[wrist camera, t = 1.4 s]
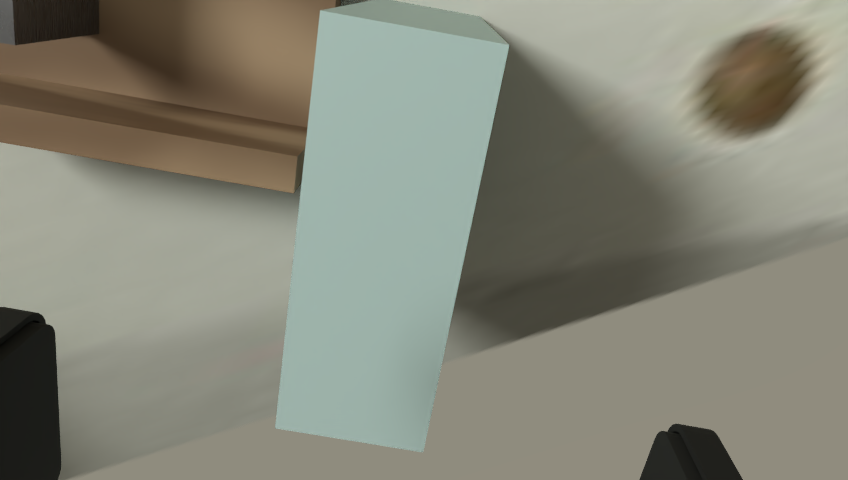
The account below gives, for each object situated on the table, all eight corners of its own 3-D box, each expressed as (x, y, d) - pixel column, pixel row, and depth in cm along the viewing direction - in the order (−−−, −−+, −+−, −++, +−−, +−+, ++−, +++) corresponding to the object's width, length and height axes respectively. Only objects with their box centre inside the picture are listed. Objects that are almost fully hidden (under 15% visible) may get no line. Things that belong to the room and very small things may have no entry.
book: (433, 258, 34) (423, 452, 20) (347, 243, 34) (275, 428, 20) (480, 16, 29) (509, 44, 15) (381, -2, 29) (320, 10, 15)
